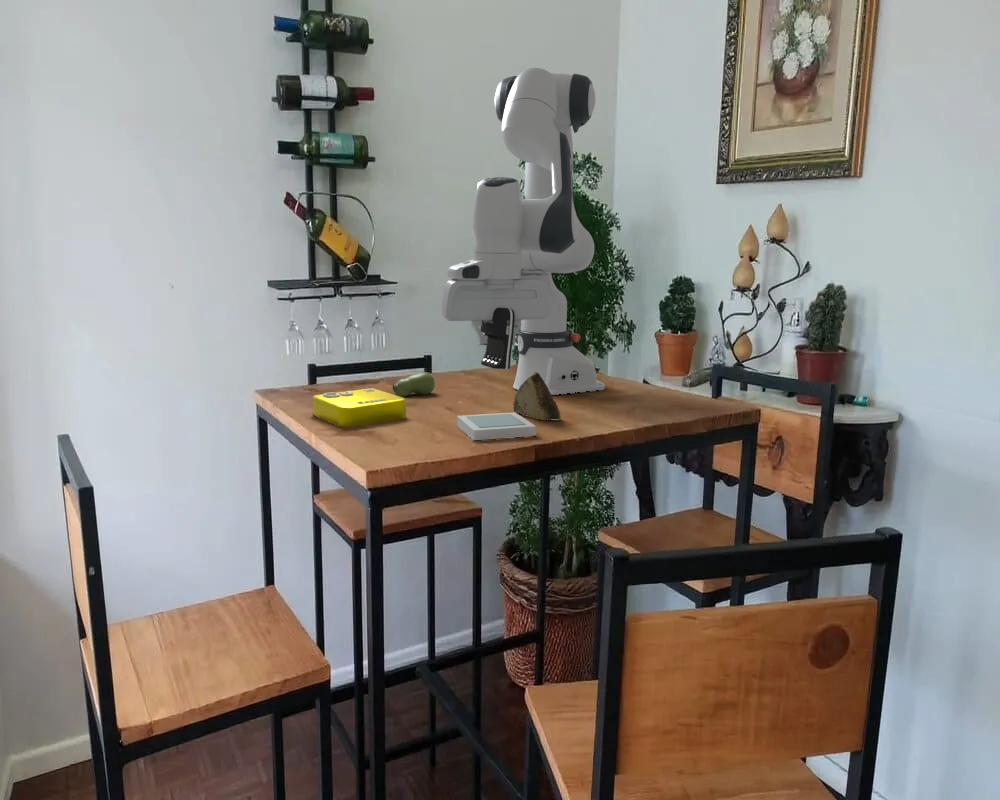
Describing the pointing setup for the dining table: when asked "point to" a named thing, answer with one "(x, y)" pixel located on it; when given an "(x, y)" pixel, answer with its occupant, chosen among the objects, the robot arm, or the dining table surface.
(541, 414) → the rock
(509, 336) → the battery charger
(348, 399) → the element tile
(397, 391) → the pear
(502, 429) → the plate
